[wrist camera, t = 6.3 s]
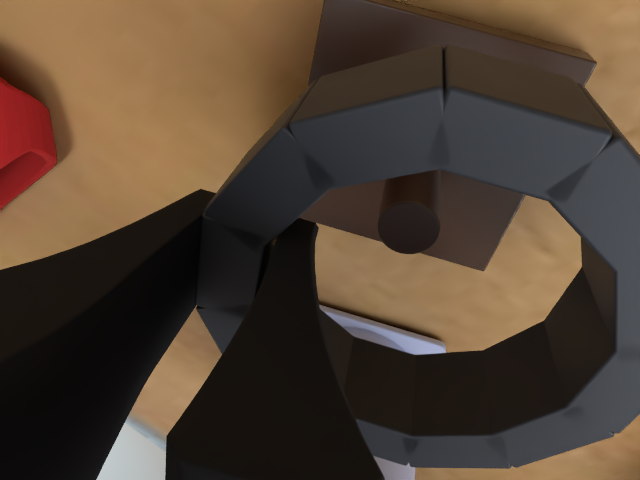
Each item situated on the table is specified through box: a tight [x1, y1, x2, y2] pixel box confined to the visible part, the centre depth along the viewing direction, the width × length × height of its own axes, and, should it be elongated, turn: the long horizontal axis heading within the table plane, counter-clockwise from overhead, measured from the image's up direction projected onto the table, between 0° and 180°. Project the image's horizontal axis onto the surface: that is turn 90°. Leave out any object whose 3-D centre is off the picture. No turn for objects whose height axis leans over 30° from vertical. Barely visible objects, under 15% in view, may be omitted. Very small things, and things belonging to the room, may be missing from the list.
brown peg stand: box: [299, 0, 597, 271], centre depth 17 cm, size 9×9×7 cm
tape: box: [195, 44, 640, 469], centre depth 11 cm, size 10×10×3 cm
